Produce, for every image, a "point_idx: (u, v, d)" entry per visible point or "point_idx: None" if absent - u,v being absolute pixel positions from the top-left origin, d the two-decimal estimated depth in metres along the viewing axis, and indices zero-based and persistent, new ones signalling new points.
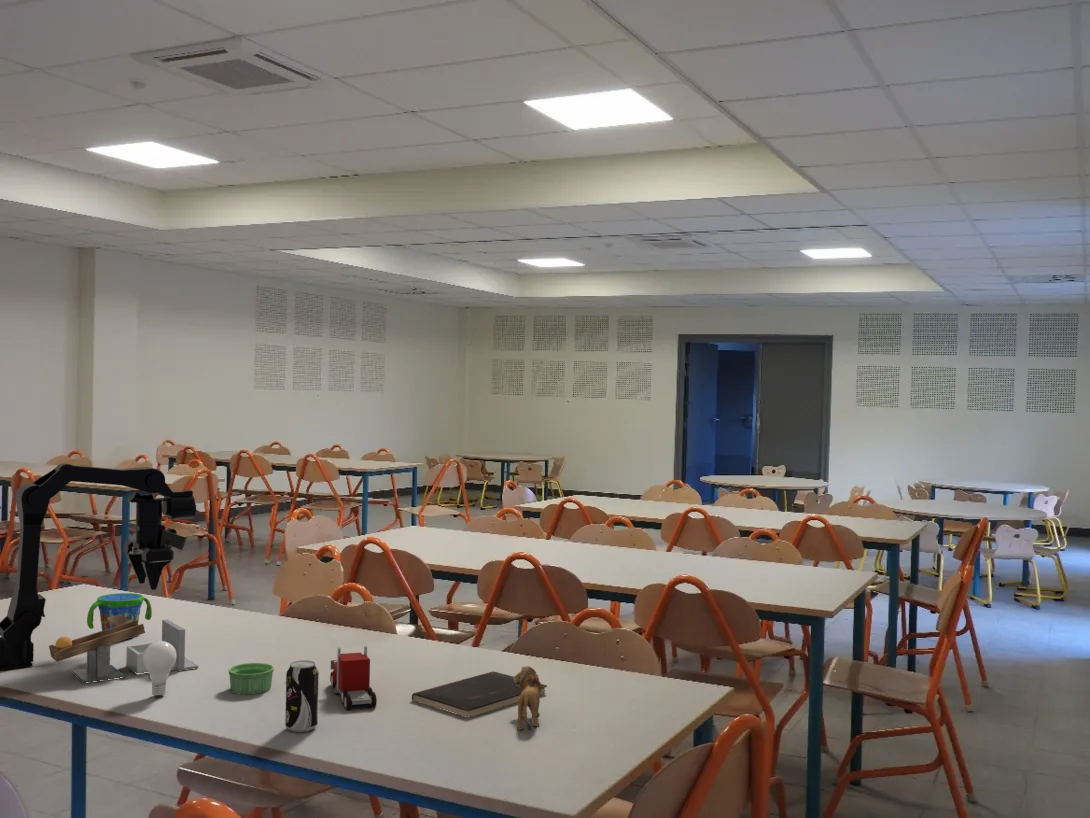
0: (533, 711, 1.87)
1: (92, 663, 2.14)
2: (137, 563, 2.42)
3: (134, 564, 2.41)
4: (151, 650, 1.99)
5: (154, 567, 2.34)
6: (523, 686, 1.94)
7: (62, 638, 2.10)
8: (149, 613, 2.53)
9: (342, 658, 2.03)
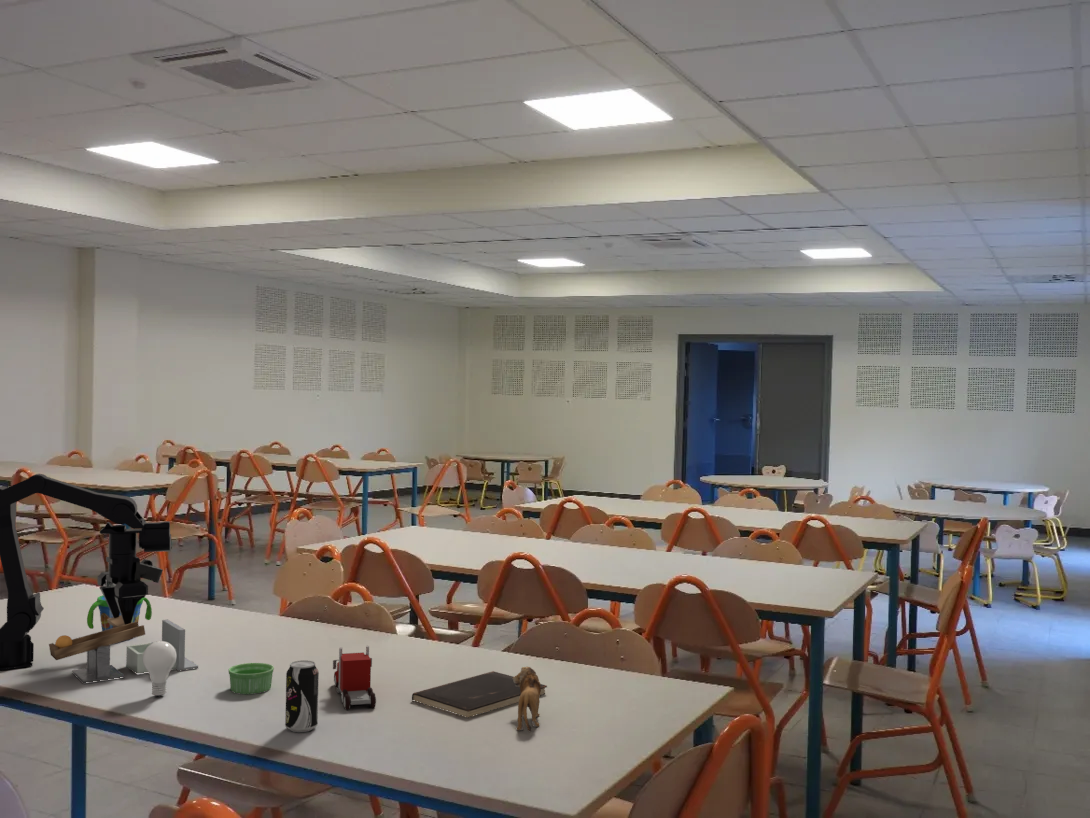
0: (533, 712, 1.87)
1: (92, 663, 2.14)
2: (111, 597, 2.31)
3: (108, 598, 2.31)
4: (151, 650, 1.99)
5: (128, 602, 2.23)
6: (523, 687, 1.93)
7: (63, 637, 2.10)
8: (149, 613, 2.53)
9: (343, 658, 2.03)
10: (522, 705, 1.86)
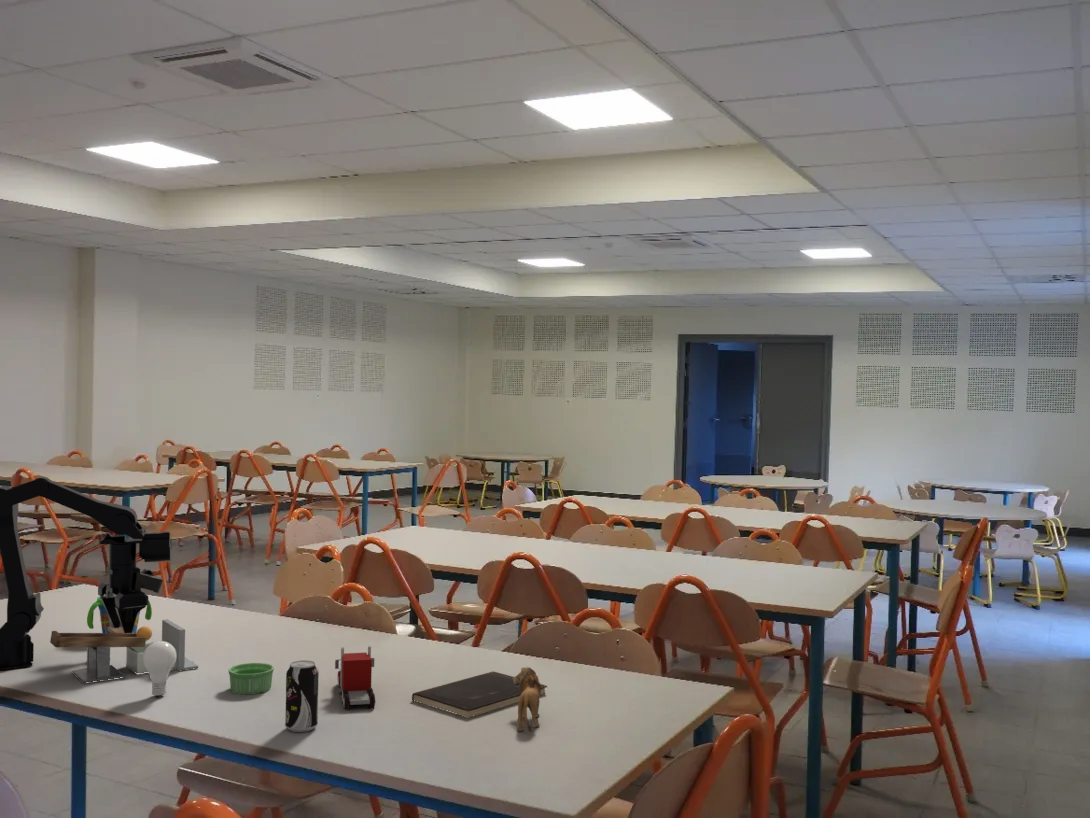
0: (533, 712, 1.87)
1: (92, 663, 2.14)
2: (111, 607, 2.31)
3: (108, 608, 2.31)
4: (151, 650, 1.99)
5: (128, 613, 2.23)
6: (523, 687, 1.93)
7: None
8: (149, 613, 2.53)
9: (344, 658, 2.03)
10: (522, 705, 1.86)
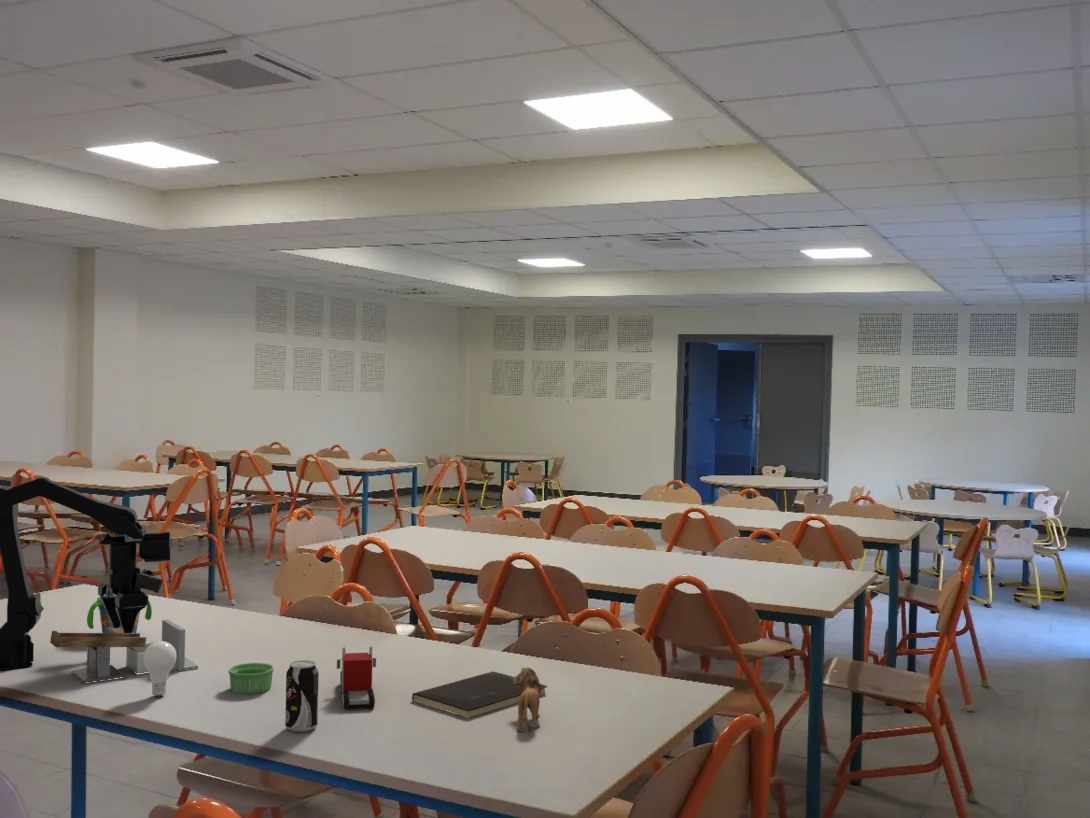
0: (533, 712, 1.86)
1: (92, 663, 2.14)
2: (111, 607, 2.31)
3: (108, 608, 2.31)
4: (151, 650, 1.99)
5: (128, 613, 2.23)
6: (523, 687, 1.93)
7: None
8: (149, 613, 2.53)
9: (345, 658, 2.03)
10: (522, 706, 1.86)
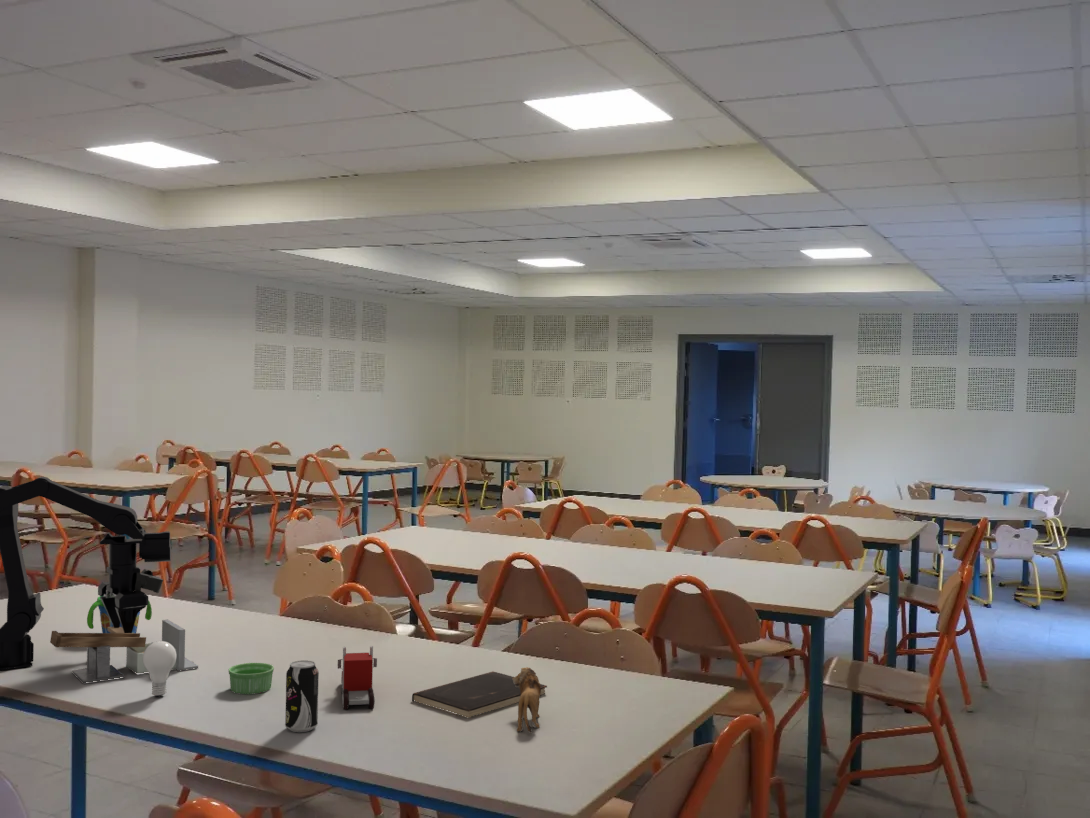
0: (533, 712, 1.86)
1: (92, 663, 2.14)
2: (111, 607, 2.31)
3: (108, 608, 2.31)
4: (151, 650, 1.99)
5: (128, 613, 2.23)
6: (523, 687, 1.93)
7: None
8: (149, 613, 2.53)
9: (346, 658, 2.03)
10: (522, 706, 1.86)
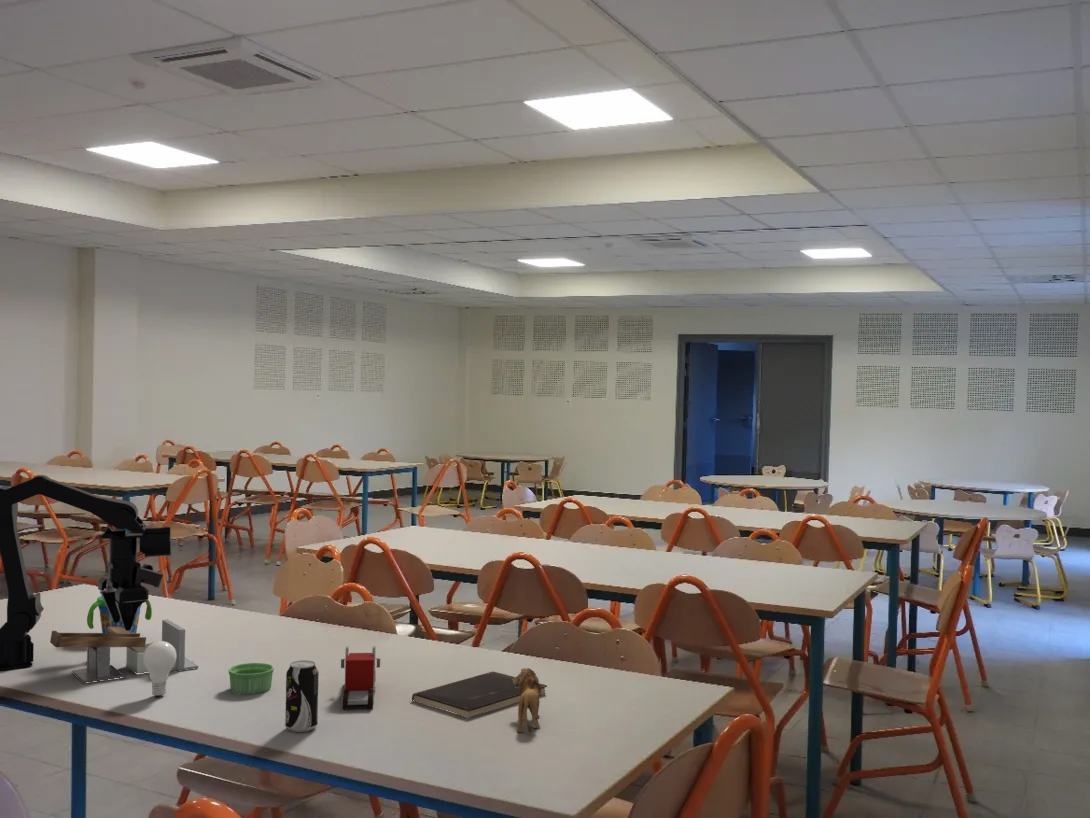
0: (533, 713, 1.86)
1: (92, 663, 2.14)
2: (111, 602, 2.31)
3: (108, 602, 2.31)
4: (151, 650, 1.99)
5: (128, 607, 2.23)
6: (523, 688, 1.92)
7: None
8: (149, 613, 2.53)
9: (347, 657, 2.03)
10: (522, 707, 1.85)
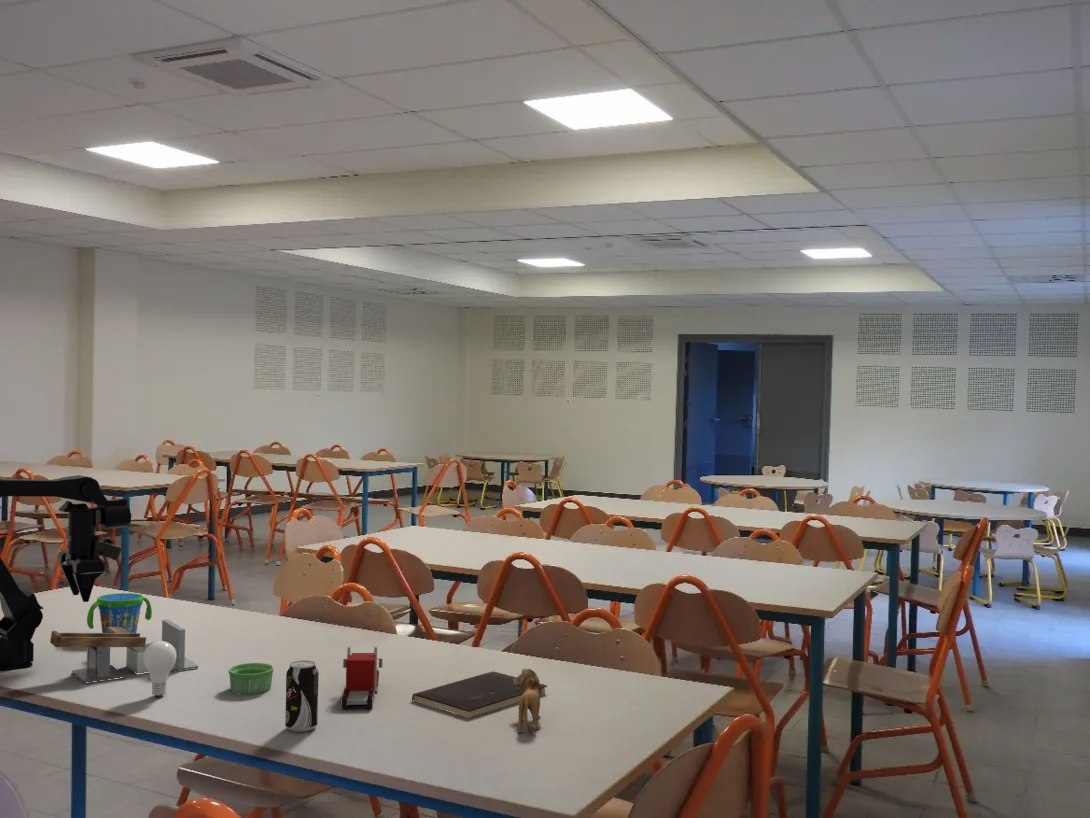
0: (534, 714, 1.86)
1: (92, 663, 2.14)
2: (71, 574, 2.34)
3: (67, 575, 2.34)
4: (151, 650, 1.99)
5: (86, 579, 2.27)
6: (523, 689, 1.92)
7: None
8: (149, 613, 2.53)
9: (349, 657, 2.03)
10: (523, 707, 1.85)
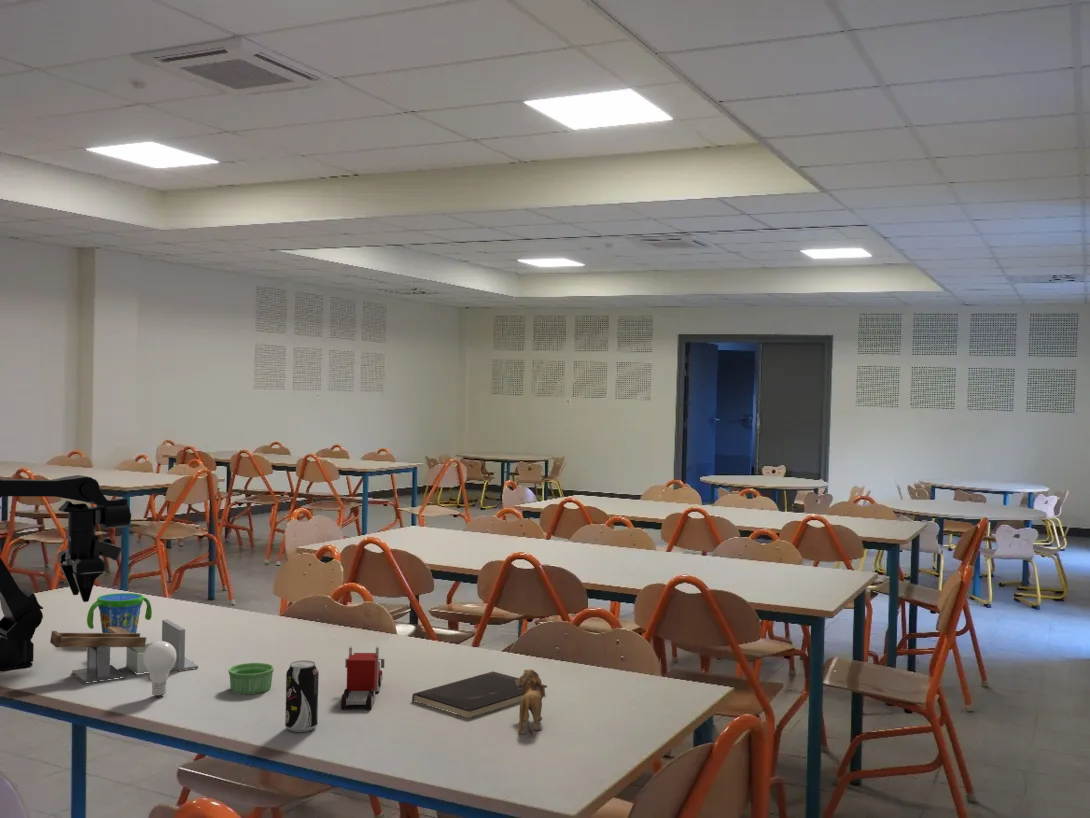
0: (535, 715, 1.85)
1: (92, 663, 2.14)
2: (70, 574, 2.35)
3: (67, 575, 2.34)
4: (151, 650, 1.99)
5: (86, 579, 2.27)
6: (525, 689, 1.91)
7: None
8: (149, 613, 2.53)
9: (350, 657, 2.04)
10: (523, 708, 1.85)
